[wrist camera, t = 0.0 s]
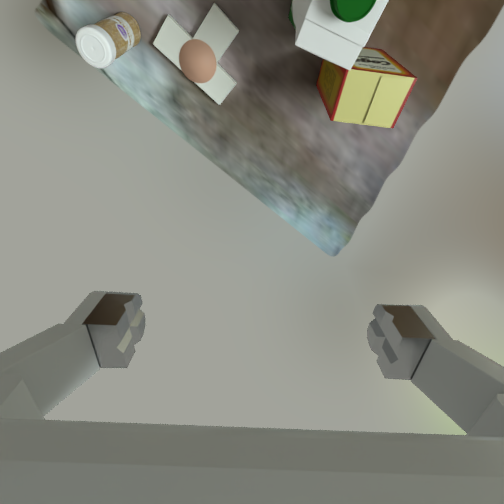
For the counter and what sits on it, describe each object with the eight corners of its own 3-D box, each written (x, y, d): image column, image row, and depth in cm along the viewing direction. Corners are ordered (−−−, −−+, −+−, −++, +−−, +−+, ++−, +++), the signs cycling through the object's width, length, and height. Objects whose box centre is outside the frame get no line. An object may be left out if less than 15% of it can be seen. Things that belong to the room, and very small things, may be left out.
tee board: (190, -26, 40) (188, -26, 39) (259, 53, 47) (259, 54, 46) (153, 43, 46) (151, 45, 46) (219, 104, 53) (218, 106, 52)
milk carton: (360, -27, 40) (411, -15, 26) (327, 46, 46) (355, 84, 33) (306, -57, 38) (331, -62, 24) (279, 23, 44) (287, 54, 31)
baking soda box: (316, 85, 50) (331, 121, 40) (327, 41, 46) (347, 69, 35) (366, 91, 51) (394, 129, 40) (382, 49, 46) (418, 79, 35)
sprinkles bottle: (146, 32, 45) (118, 52, 36) (131, 53, 47) (100, 77, 38) (122, 3, 43) (84, 17, 34) (106, 27, 45) (67, 45, 36)
